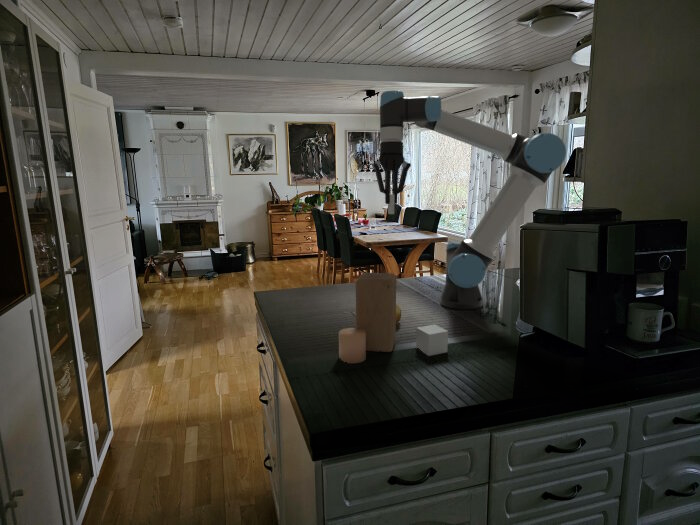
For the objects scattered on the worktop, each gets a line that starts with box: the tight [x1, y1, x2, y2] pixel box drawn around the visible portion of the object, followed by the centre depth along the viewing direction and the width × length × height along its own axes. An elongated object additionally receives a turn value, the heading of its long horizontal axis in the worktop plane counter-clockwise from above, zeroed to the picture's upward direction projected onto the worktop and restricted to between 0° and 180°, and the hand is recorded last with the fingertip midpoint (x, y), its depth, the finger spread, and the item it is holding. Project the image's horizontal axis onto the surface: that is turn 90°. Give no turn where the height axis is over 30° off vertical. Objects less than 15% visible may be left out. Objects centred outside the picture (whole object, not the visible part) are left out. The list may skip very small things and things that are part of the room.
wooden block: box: [355, 272, 397, 353], centre depth 119 cm, size 10×10×20 cm
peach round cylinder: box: [338, 327, 367, 364], centre depth 112 cm, size 7×7×7 cm
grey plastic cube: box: [415, 324, 449, 357], centre depth 117 cm, size 6×6×6 cm
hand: (391, 213), depth 146 cm, fingers closed
